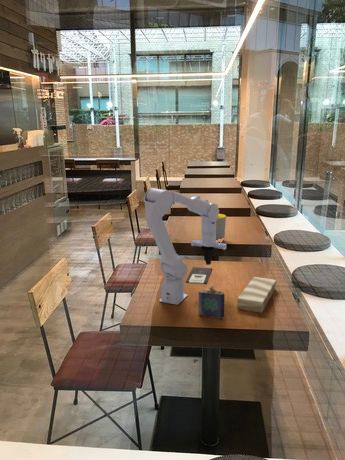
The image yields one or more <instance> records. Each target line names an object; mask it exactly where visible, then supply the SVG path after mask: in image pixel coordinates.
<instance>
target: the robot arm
mask: <svg viewBox="0 0 345 460" xmlns="http://www.w3.org/2000/svg"><path fill="white" fill-rule="evenodd" d="M142 200H143V203H144V205H145V206H144V210H145V211H144V215H145V216H144V217H145V221H146V222H147V225H148V227H149V230H150V233H151V235H152V237H153V239H154V241H155V244H156V246H157V248H158V251H159V253H160V255H161V257H160V258H159V262H160V270H161V272H163V276H164V281H163V282H162V284H161V285H160V299H159V300H158V301H159V302H161V303H166V304H170V305H171V304H172V305H175V306H176V305H177V306H178V305H179V304H180V303H181V302H182V301H183V300H185V299H186V298H187V297H188V294H187V293H185V291H184V289H185V288H184V282H185V281H184V278H186V275H187V273H188V265H187V263H185V262H184V261H183V258H182V257H180V256H179V254H177V252H176V250H175V247H174V245H173V242H172V240H171V238H170V235H169V233H168V230H167V227H166V225H165V223H164V220H163V217H164V216H165V214H167V212H168V210H169V209H170V208H171V207H172V205H175V204H176V203H177V204H179V205H183V206H186V208H187V210H188V211H189V212H192V213H195V214H197V215H199V216H201V240H199V239H197V240H196V239H193V240H191V242H190V245H191V246H192V247H194V246H195V247H201V248H200V252H201V254H202V255H203V257H204V258H203V259H204V261H205V265H207V266H209V265H211V264H212V260H213V256H214V255H215V252H216V250H217V249H220V250H224V251H225V250H226V249H227V243H223V242H220V243H219V242H216V220H217V216H218V214H220V209H219V207H218V206H217V205H218V204H217V203H212V202H209V200H207V199H202V198H201V197H200V196H199V195H195V196H191V197H188V196H186V195H184V194H182V193H179V192H176V191H175V190H174V191H173V190H172V191H171V190H168V189H161V188H157V187H150V188H148V189H147V190H146V191H145V193H144V197H143V199H142ZM216 204H217V205H216Z"/></svg>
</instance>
